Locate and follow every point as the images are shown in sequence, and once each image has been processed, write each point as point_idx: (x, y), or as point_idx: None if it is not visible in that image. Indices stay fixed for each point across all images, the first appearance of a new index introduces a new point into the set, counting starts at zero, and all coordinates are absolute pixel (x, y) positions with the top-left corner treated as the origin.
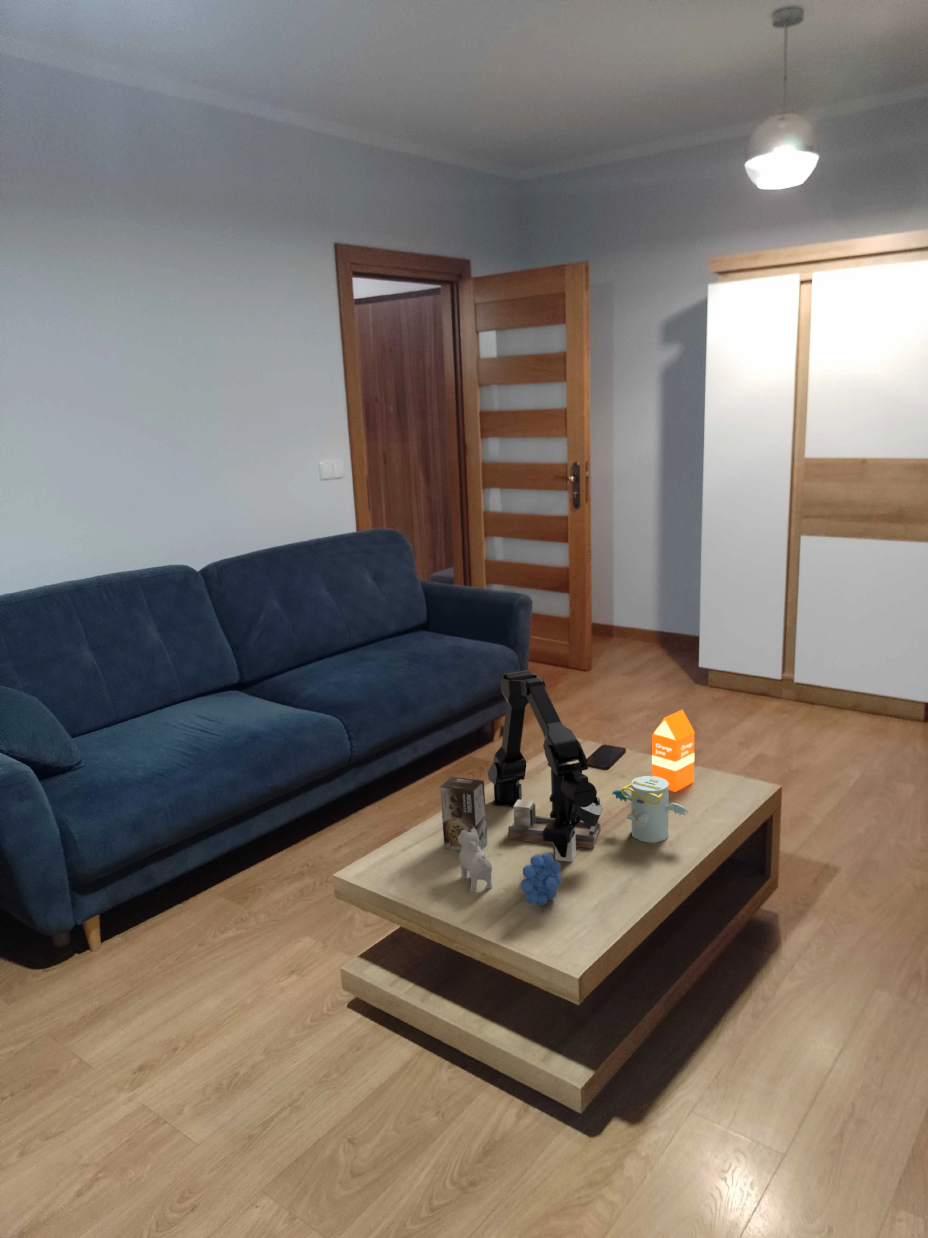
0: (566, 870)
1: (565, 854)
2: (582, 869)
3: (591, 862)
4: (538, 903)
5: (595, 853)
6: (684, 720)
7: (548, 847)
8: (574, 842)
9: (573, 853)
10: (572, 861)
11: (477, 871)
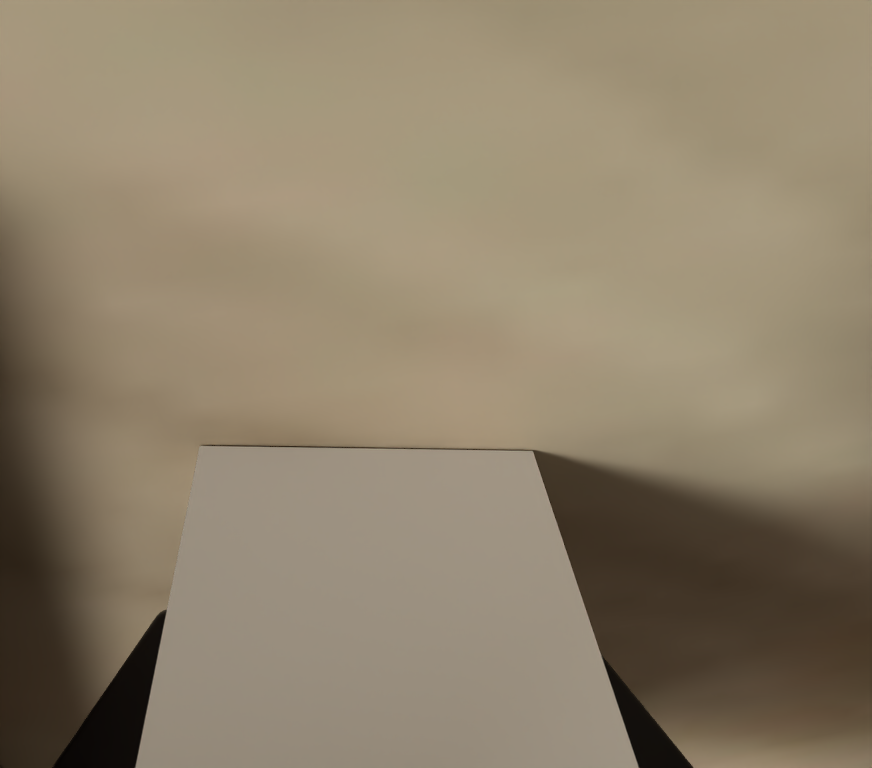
0: (807, 480)
1: None
2: (830, 252)
3: (536, 92)
4: None
5: (4, 27)
6: None
7: None
8: (316, 739)
9: (441, 540)
10: (524, 454)
11: None
